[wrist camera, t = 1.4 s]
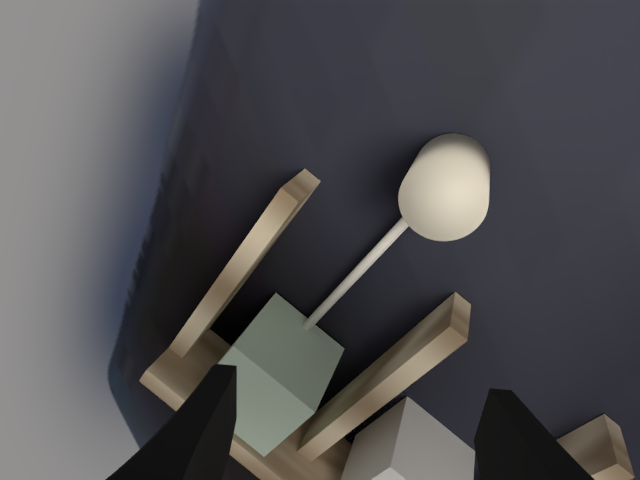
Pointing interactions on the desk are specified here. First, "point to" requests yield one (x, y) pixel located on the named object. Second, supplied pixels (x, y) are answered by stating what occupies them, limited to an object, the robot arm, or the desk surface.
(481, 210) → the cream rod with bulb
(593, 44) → the desk surface
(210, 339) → the lane rack
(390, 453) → the grey block
